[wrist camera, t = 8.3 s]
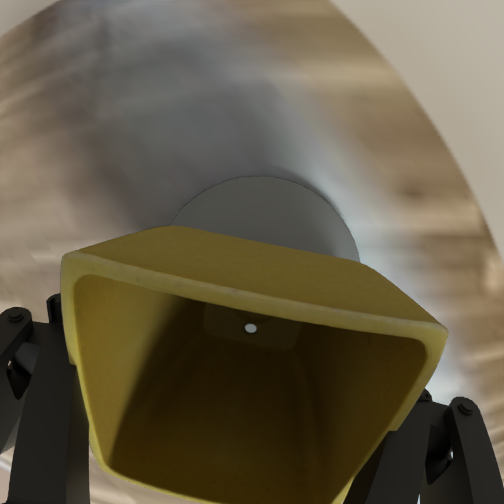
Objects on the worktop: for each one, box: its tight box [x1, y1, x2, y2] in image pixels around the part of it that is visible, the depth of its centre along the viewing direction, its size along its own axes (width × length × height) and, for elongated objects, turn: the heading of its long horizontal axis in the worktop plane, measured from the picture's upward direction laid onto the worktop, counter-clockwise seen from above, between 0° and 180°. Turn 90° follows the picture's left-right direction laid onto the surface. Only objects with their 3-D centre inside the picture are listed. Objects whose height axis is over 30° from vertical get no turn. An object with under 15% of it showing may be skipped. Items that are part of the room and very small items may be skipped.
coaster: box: [170, 176, 360, 333], centre depth 17 cm, size 11×11×1 cm
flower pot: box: [60, 226, 449, 504], centre depth 11 cm, size 9×9×9 cm
